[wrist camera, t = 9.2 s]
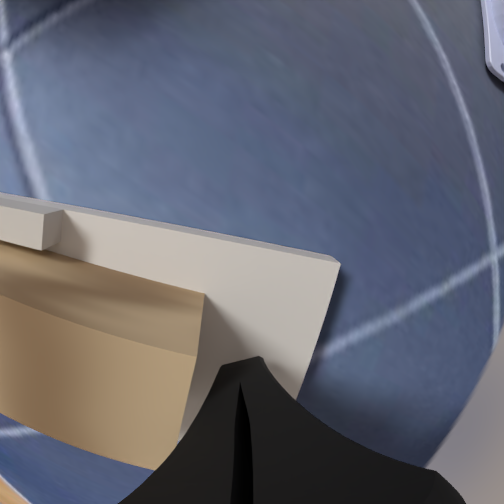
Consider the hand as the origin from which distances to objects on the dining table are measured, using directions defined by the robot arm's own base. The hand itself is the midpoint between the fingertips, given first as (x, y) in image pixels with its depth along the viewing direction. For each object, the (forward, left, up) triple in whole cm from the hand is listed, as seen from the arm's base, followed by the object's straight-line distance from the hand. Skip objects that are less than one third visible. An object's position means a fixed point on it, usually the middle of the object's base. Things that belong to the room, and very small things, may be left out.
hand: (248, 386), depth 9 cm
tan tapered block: (+5, -1, -1) cm, 5 cm away
